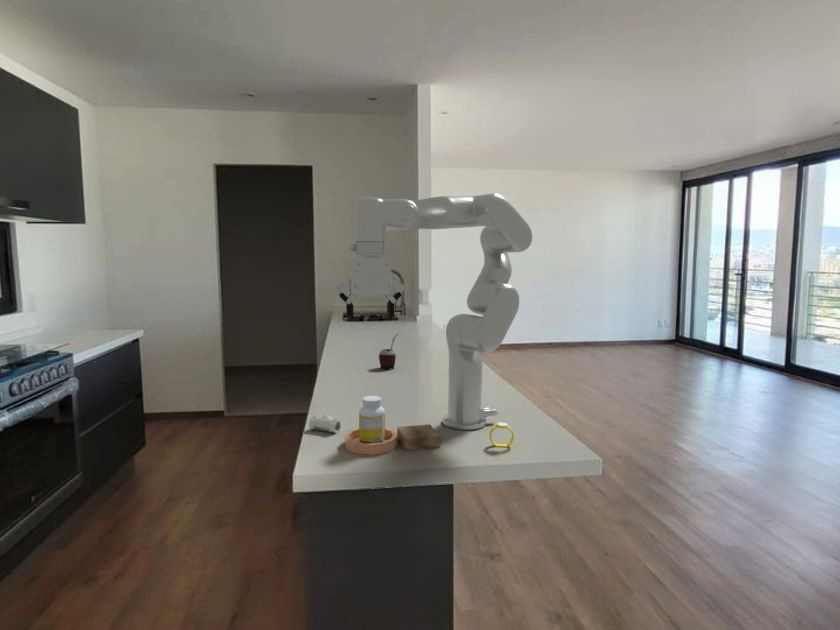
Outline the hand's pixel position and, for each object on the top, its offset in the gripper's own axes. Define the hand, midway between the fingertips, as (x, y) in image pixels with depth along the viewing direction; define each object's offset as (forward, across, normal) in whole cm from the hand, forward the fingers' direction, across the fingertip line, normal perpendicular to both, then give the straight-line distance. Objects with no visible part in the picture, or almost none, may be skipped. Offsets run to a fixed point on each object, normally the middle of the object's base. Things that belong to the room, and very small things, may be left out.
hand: (370, 319), depth 126 cm
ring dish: (+32, 0, 0) cm, 32 cm away
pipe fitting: (+33, -10, +15) cm, 37 cm away
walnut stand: (+32, +12, -2) cm, 34 cm away
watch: (+33, +32, -9) cm, 47 cm away
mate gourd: (+32, +22, +85) cm, 94 cm away
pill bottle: (+32, 0, 0) cm, 32 cm away
